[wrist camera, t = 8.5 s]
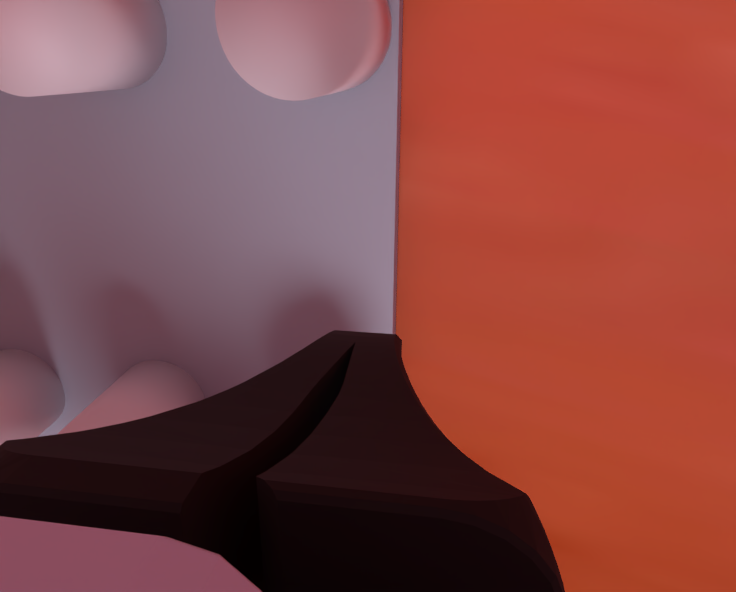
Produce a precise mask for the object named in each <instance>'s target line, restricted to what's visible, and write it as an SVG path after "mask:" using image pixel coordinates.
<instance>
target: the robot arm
mask: <svg viewBox="0 0 736 592" xmlns="http://www.w3.org/2000/svg"><path fill="white" fill-rule="evenodd" d="M401 349H402V340H401V339H400V338H399V337H398V336H397V335H396V334H384V333H370V332H355V331H340V330H334V331H331V332H329V333H327V334H326V335H324V336H322V337H321V338H319V339H317V340H316V341H314V342H313V343H311V344H310V345H308V346H306V347H305V348H303V349H302V350H300V351H298V352H297V353H295V354H293V355H292V356H290V357H288V358H287V359H285V360H284V361H282V362H280V363H278V364H277V365H275V366H273V367H271V368H269V369H267V370H265V371H264V372H262V373H260V374H258V375H256V376H254V377H252V378H251V379H249V380H247V381H245V382H243V383H241V384H239V385H237V386H234V387H232V388H230V389H228V390H225V391H223V392H220V393H218V394H215V395H213V396H211V397H208V398H206V399H203V400H200V401H197V402H195V403H192V404H188V405H185V406H182V407H179V408H175V409H172V410H169V411H166V412H163V413H159V414H156V415H153V416H149V417H145V418H141V419H137V420H133V421H129V422H125V423H120V424H115V425H110V426H105V427H100V428H95V429H90V430H84V431H78V432H71V433H64V434H56V435H48V436H41V437H33V438H26V439H16V440H7V441H5V442H4V443H3V444H1V445H0V592H565V591H564V586H563V582H562V579H561V575H560V572H559V569H558V566H557V563H556V560H555V557H554V554H553V551H552V548H551V546H550V543H549V540H548V538H547V535H546V533H545V530H544V528H543V526H542V523H541V521H540V519H539V517H538V515H537V512H536V510H535V508H534V506H533V504H532V502H531V500H530V498H529V497H528V495H527V494H526V493H524V492H522V491H520V490H519V489H517V488H515V487H513V486H512V485H510V484H508V483H506V482H505V481H503V480H501V479H499V478H498V477H496V476H494V475H492V474H490V473H489V472H487V471H486V470H484V469H483V468H482V467H480V466H479V465H478V464H476V463H475V462H474V461H472V460H471V459H470V458H468V457H467V456H466V455H464V454H463V453H462V452H461V451H460V450H459V449H458V448H457V447H456V446H455V445H453V444H452V443H451V442H450V441H449V440H448V439H447V438H446V437H445V435H444V434H443V433H442V432H441V431H440V430H439V428H438V427H437V426H436V425H435V423H434V422H433V420H432V419H431V418H430V416H429V415H428V414H427V412H426V410H425V409H424V407H423V406H422V404H421V402H420V401H419V399H418V397H417V395H416V393H415V391H414V389H413V387H412V385H411V383H410V381H409V378H408V375H407V373H406V370H405V368H404V365H403V361H402V357H401Z"/></svg>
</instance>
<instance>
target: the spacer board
mask: <svg viewBox="0 0 736 592" xmlns="http://www.w3.org/2000/svg"><path fill="white" fill-rule="evenodd" d="M402 27H403V0H0V445H1V444H3V443H4V442H5V441H7V440H16V439H26V438H33V437H41V436H48V435H56V434H64V433H71V432H78V431H84V430H90V429H95V428H100V427H105V426H110V425H115V424H120V423H125V422H129V421H133V420H137V419H141V418H145V417H149V416H153V415H156V414H159V413H163V412H166V411H169V410H172V409H175V408H179V407H182V406H185V405H188V404H192V403H195V402H197V401H200V400H203V399H206V398H208V397H211V396H213V395H215V394H218V393H220V392H223V391H225V390H228V389H230V388H232V387H234V386H237V385H239V384H241V383H243V382H245V381H247V380H249V379H251V378H252V377H254V376H256V375H258V374H260V373H262V372H264V371H265V370H267V369H269V368H271V367H273V366H275V365H277V364H278V363H280V362H282V361H284V360H285V359H287V358H288V357H290V356H292V355H293V354H295V353H297V352H298V351H300V350H302V349H303V348H305V347H306V346H308V345H310V344H311V343H313V342H314V341H316V340H317V339H319V338H321V337H322V336H324V335H326V334H327V333H329V332H331V331H334V330H340V331H355V332H370V333H384V334H395V332H396V289H397V245H398V201H399V158H400V114H401V71H402Z"/></svg>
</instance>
